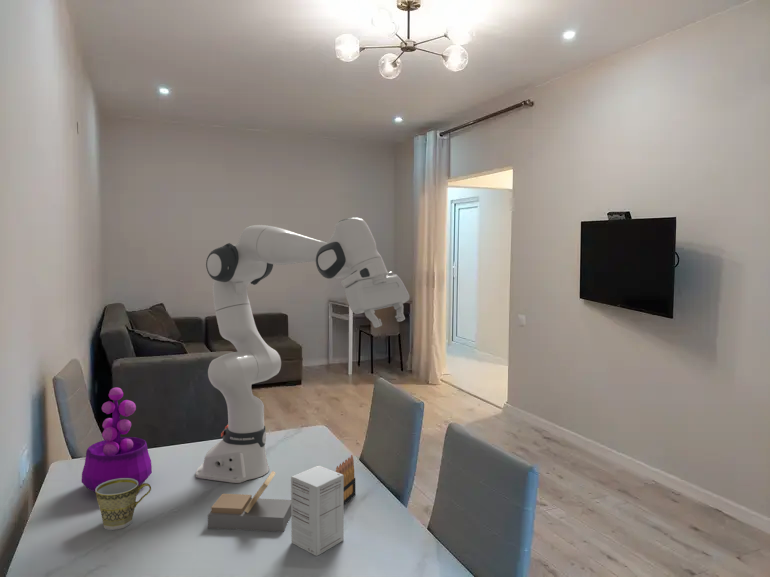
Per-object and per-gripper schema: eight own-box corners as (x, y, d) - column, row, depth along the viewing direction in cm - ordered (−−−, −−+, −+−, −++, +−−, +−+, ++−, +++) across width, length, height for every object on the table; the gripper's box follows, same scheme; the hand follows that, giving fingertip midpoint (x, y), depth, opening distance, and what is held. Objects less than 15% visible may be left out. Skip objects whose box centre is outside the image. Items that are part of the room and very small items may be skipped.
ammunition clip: (338, 510, 151) (338, 467, 150) (332, 509, 152) (332, 466, 151) (355, 494, 161) (356, 454, 160) (350, 493, 161) (350, 453, 161)
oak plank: (247, 513, 140) (244, 510, 140) (257, 499, 148) (253, 496, 148) (267, 485, 139) (264, 483, 140) (275, 473, 147) (272, 470, 147)
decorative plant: (146, 469, 176) (144, 377, 174) (158, 491, 161) (156, 390, 159) (79, 482, 166) (76, 384, 164) (84, 507, 150) (82, 399, 148)
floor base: (208, 528, 140) (207, 509, 140) (222, 509, 150) (221, 491, 150) (283, 531, 139) (283, 512, 139) (292, 512, 149) (292, 494, 149)
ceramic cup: (96, 537, 135) (95, 497, 135) (96, 519, 144) (95, 482, 143) (153, 525, 141) (152, 487, 140) (150, 509, 150) (149, 473, 149)
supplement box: (318, 528, 141) (318, 464, 140) (344, 540, 135) (345, 473, 134) (289, 543, 134) (289, 475, 132) (316, 557, 128) (316, 486, 127)
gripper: (387, 275, 153) (406, 321, 151) (335, 283, 137) (356, 334, 135) (403, 266, 149) (422, 313, 147) (352, 273, 134) (373, 325, 131)
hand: (390, 323), depth 141 cm, fingers open, 8 cm apart
